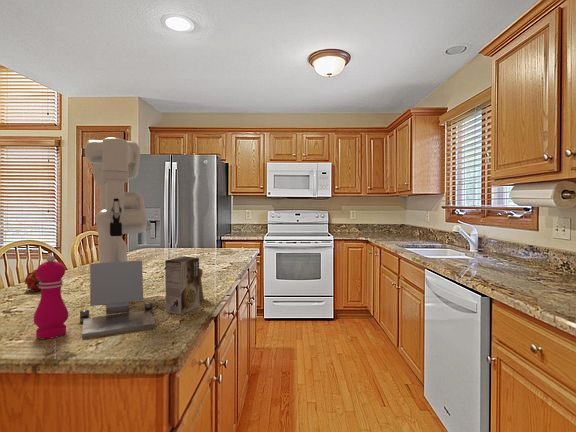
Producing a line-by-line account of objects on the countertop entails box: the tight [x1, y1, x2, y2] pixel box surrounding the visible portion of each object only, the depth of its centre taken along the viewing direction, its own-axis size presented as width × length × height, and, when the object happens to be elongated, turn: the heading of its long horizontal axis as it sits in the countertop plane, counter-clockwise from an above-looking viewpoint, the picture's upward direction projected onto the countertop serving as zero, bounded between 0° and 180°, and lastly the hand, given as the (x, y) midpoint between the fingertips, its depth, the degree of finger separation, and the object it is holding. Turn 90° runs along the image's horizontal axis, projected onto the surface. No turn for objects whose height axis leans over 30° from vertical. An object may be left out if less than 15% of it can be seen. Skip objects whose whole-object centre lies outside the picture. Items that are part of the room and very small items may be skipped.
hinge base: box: [79, 302, 157, 339], centre depth 97 cm, size 17×19×3 cm
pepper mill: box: [33, 254, 69, 339], centre depth 88 cm, size 7×7×20 cm
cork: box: [199, 267, 205, 302], centre depth 123 cm, size 6×6×11 cm
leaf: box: [89, 260, 144, 316], centre depth 104 cm, size 15×14×2 cm
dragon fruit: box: [24, 269, 41, 292], centre depth 137 cm, size 8×8×12 cm
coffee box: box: [164, 256, 200, 315], centre depth 110 cm, size 9×6×16 cm
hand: (115, 234), depth 111 cm, fingers open, 4 cm apart
